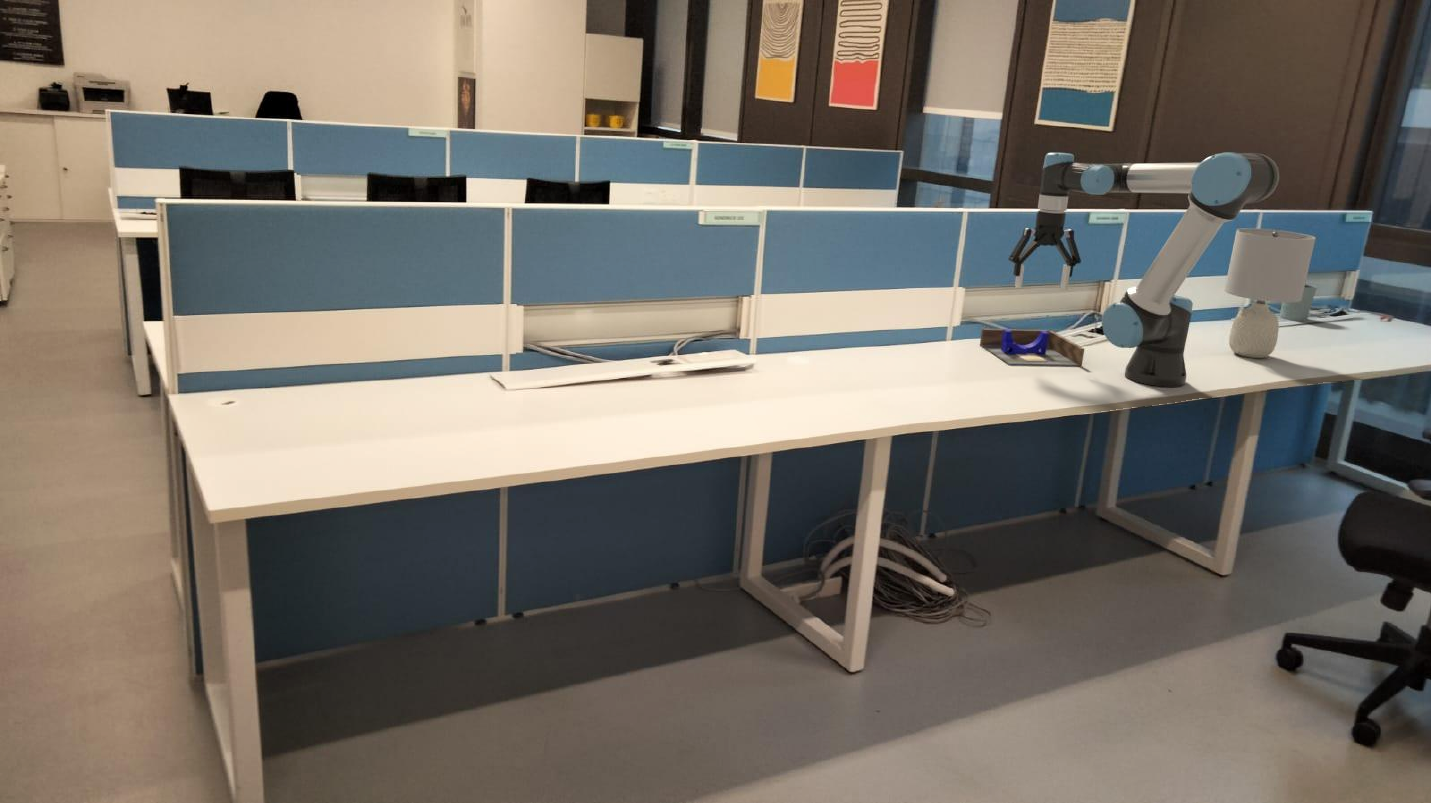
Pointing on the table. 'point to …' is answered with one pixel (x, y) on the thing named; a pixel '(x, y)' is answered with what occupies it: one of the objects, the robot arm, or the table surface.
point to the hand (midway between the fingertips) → (1040, 288)
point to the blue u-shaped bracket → (1034, 347)
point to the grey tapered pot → (1299, 305)
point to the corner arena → (1056, 353)
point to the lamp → (1265, 284)
